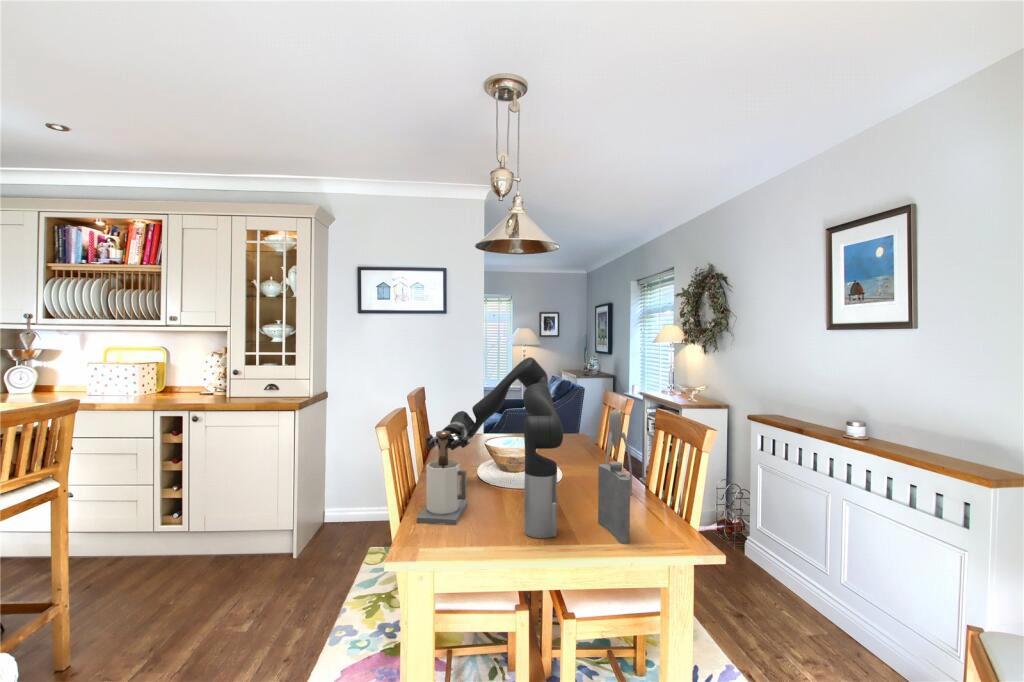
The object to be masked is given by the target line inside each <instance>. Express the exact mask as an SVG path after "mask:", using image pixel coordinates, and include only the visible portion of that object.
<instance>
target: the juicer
mask: <svg viewBox="0 0 1024 682" xmlns="http://www.w3.org/2000/svg"><path fill="white" fill-rule="evenodd" d="M608 417H609V418H608V426H609V432H608V436H607V445H606V455H605V464H607V465H609V463H610V453H611V446H613V449H614V450H616V447H617V446H618V443H619V439H622V441H623V442H624V445H625V449H626V453H627V459H628V460H627V461H628V469H629V470H628V471H629V478H630V497H633V471H632V468H633V467H632V460H631V452H630V448H629V447H630V446H629V443H628V438H627V436H626V433H625V432H624V431H623V432H622V433H621V430H622V414H621V412H620V411H619V410H618V409H616V408H614V409H612V410H611V411H610V413H609V416H608Z"/></svg>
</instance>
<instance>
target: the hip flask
mask: <svg viewBox="0 0 1024 682" xmlns="http://www.w3.org/2000/svg"><path fill="white" fill-rule="evenodd" d="M622 467H623V462H622V461H621V462H620V461H609V464H608V465H607V464H606V463H601V464H598V477H597V478H598V479H597V480H598V485H597V486H598V490H597V491H598V493H597V505H598V506H597V524H598V526H599V525H600V526H601V527H603V528H604V529H605V530H607V532H609V533H610V534H611V535H612V536H613V537H614V538H615V539H616V541H617V543H619V544H622V545H628V544H629V543H630V540H631V539H630V538H631V537H630V535H631V534H630V533H631V529H630V528H631V526H630V525H631V496H630V476H629V475H628V474H626V473H625V472H624V471H623V468H622Z"/></svg>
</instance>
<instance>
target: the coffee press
mask: <svg viewBox="0 0 1024 682" xmlns="http://www.w3.org/2000/svg"><path fill="white" fill-rule="evenodd" d="M425 471H426V472H425V473H426V476H425V477H426V481H425V482H426V485H425V486H426V491H425V492H426V505H425V507H424V508H423V509H422V510H421V512H420V513H419V514H418V515H417V517H416V523H417V522H427V523H426V524H433V523H446V524H445V525H452V524H456V523H457V524H458V522H459V521H460V519H461V517H462V516H463V514H462V513H465V510H466V509H467V508H468V500H467V492H468V491H467V487H468V486H467V485H468V484H467V482H468V481H467V470H461V464H460V462H457V461H455V460H449V459H448V465H447V466H445V469H442V466H439V465H438V460H434V461H433V460H432V461H430V462H428V464H426V470H425ZM460 479H461V481H460ZM460 482H461V483H460ZM460 484H461V488H460ZM460 491H461V493H460ZM465 508H466V509H465ZM461 515H462V516H461ZM459 518H460V519H459ZM458 520H459V521H458ZM457 524H456V525H457Z"/></svg>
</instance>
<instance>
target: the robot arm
mask: <svg viewBox="0 0 1024 682" xmlns="http://www.w3.org/2000/svg"><path fill="white" fill-rule="evenodd" d="M517 380H518V381H519V382H520V383H521V384H522V385H523V386H524V388H525V389H524V392H523V397H522V398H523V399H522V400H523V406H524V410H525V411H526V413H527V414H528V416H527V417H526V418H525V420H524V422H523V423H524V424H523V441H524V490H523V491H524V499H523V500H524V503H523V504H524V506H523V507H524V509H523V510H524V512H523V513H524V516H523V518H524V520H523V526H524V527H523V529H524V530H523V532H524V534H525V535H526V536H528V537H531V538H536V539H547V538H548V539H549V538H553V537H554V538H555V537H556V538H557V535H558V532H557V531H558V496H557V495H558V464H557V462H556V461H554V460H553V459H551V458H548V457H546V456H543V455H541V454H539V453H538V452H537V449H539V450H544V449H545V450H547V449H549V450H551V449H552V450H553V449H558V448H559V447H561V445H562V444H563V440H564V428H563V425H562V421H561V419H560V417H559V415H558V413H557V411H556V409H555V405H554V401H553V400H554V399H553V396H552V394H551V391H550V388H549V381H548V380H549V378H548V375H547V372H546V370H545V369H544V368H543V367H542V366H541V365H540V364H539V363H538V361H537V360H536V359H535V358H533V357H530V356H529V357H526V358H525V359H523V360H522V361H520V362H519V363H518V364H517V365H516V366H514V368H512V370H511V371H510V372H508V374H506V376H504V378H503V379H502V380H501V381H500V382H499V383H498V384H497V385H496V386H495V387H494V388H493V389H492V390H491V391H490V392H489V393H488V394H487V395H486V396H484V397H482V398H481V399H480V400H479V401H478V402H477V403H475V404H474V405H473V406H472V409H471V411H472V413H473V416H474V417H475V421H474V420H473V418H472V417H471V416H470V415H469V414H468V413H467V412H466V411H465V410H461V411H458V412H456V413H455V414H454V415H453V416H452V417H451V419H450V423H449V424H447V426H445V427H444V428H443V429H441V431H450V437H448V449H450V450H451V451H454V450H456V449H458V448H460V447H461V448H462V449H463V448H467V446H468V445H470V442H471V441H470V440H471V439H472V438H473V437H474V436H476V434H477V432H479V429H480V428H481V427H482V426H483V424H484V423H485V422H486V421H487V420H488V419H490V418H491V417H492V416H493V415H495V414H496V413H497V412H499V411H500V409H501V408H502V407H503V405H504V403H505V400H506V398H507V395H508V392H509V390H510V387H511V386H512V385H513V383H515V382H516V381H517ZM425 446H426V447H427V448H428V449H429V450H433V449H434V448H435V447H436V448H438V437H436V436H434V435H433V434H432V433H430V434H428V435H427V436H426V438H425Z"/></svg>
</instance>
